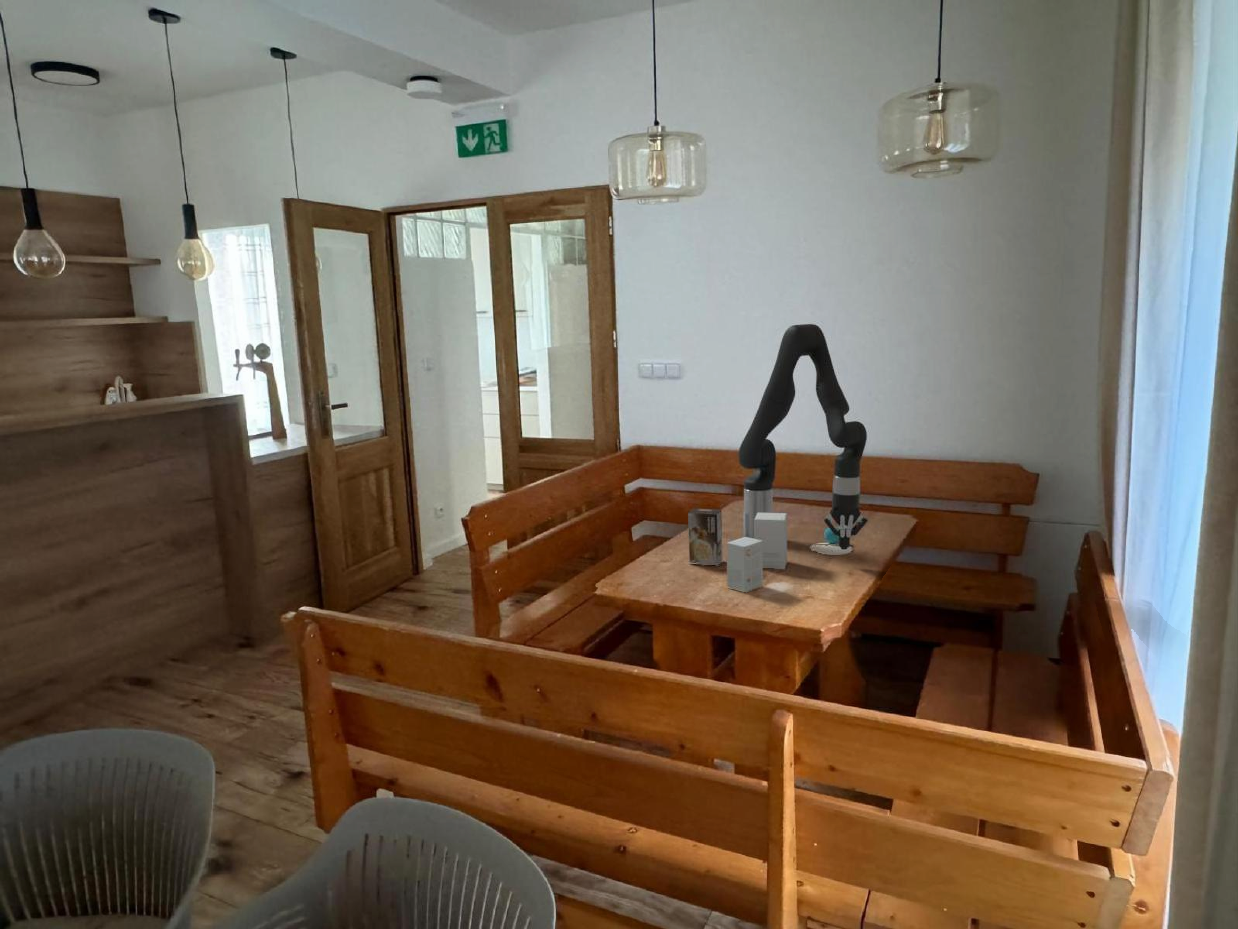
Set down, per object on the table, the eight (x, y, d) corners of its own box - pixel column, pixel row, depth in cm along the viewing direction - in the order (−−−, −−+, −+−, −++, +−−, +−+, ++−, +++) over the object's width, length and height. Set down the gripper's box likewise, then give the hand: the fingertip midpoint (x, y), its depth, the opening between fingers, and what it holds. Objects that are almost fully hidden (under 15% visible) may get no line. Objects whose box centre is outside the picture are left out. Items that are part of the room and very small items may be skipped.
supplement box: (787, 561, 245) (787, 512, 242) (785, 570, 236) (785, 520, 234) (757, 559, 247) (757, 511, 245) (753, 568, 239) (753, 518, 236)
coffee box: (723, 561, 247) (722, 509, 244) (718, 567, 241) (718, 514, 238) (693, 558, 250) (693, 507, 247) (688, 564, 244) (687, 512, 241)
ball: (824, 524, 264) (823, 540, 265) (825, 528, 258) (824, 545, 259) (841, 524, 263) (841, 541, 264) (843, 529, 257) (842, 546, 258)
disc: (814, 555, 250) (814, 554, 250) (806, 543, 262) (806, 543, 262) (857, 554, 249) (857, 554, 249) (846, 543, 262) (846, 542, 262)
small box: (745, 581, 227) (744, 536, 225) (763, 586, 223) (763, 540, 221) (726, 588, 222) (726, 542, 220) (744, 593, 217) (744, 546, 215)
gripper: (825, 494, 231) (823, 552, 234) (873, 493, 230) (870, 552, 234) (820, 488, 238) (818, 545, 241) (865, 487, 238) (863, 544, 241)
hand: (843, 548), depth 237 cm, fingers closed
